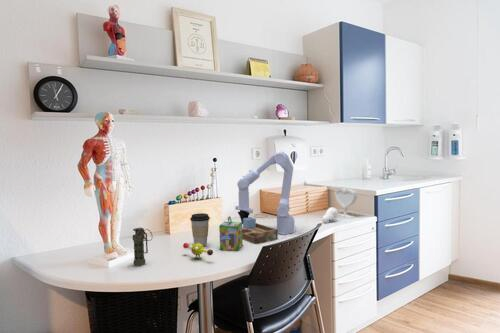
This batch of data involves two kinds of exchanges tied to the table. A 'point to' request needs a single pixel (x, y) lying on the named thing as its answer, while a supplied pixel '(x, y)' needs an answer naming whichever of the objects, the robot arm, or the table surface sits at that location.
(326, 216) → the penguin figurine
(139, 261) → the grenade
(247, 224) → the block
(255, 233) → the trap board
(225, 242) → the green printed box
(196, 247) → the toy figure
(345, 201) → the heart sculpture
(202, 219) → the coffee cup
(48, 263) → the table surface
